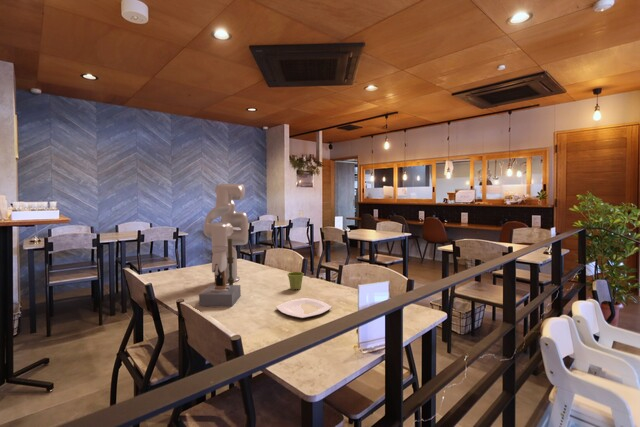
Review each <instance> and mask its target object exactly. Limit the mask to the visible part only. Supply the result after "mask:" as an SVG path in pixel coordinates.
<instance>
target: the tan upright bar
mask: <svg viewBox="0 0 640 427" xmlns="http://www.w3.org/2000/svg"><path fill="white" fill-rule="evenodd" d="M218 272H220V271H218ZM213 273H214V285H215V289H226V285H227V283H226V271H223V272H222V278H223V286H216V275H215V272H213ZM219 274H220V273H219Z"/></svg>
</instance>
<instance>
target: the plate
mask: <svg viewBox="0 0 640 427" xmlns="http://www.w3.org/2000/svg"><path fill="white" fill-rule="evenodd" d="M302 304H311V305H315V306H317V307H319V308H320V309H318V310H317V311H315V312H313V313H309V314H304V310H303V309H302V308H301V305H302ZM298 305H299V306H298ZM295 306H296V307H295ZM275 308H276V310H278V311H279V312H281V313H282V314H283V315H287V316H289V317H295V318H298V319H305V318H311V317H314V316H315V317H316V316H318V315H322V314H324V313H326V312H327V311H329V310H331V309H332V308H333V307H332V306H331V305H330V304H328V303H326V302H325V301H322V300H319V299H315V298H310V297H309V298H307V297H301V298H295V299H292V300H287V301H285V302H283V303H281V304H279V305H276V306H275Z"/></svg>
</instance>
